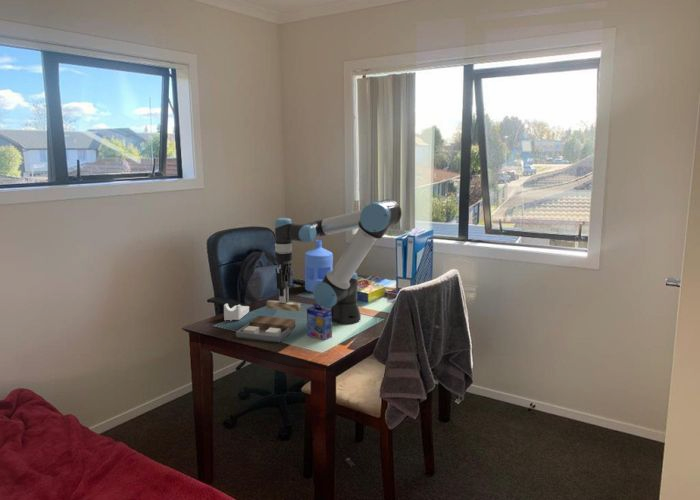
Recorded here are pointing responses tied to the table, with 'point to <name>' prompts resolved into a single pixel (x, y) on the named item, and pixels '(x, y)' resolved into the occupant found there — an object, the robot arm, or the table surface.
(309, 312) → the ink cartridge box
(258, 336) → the box
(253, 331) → the tile
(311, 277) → the water jug
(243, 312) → the bracket
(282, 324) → the walnut board
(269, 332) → the tile
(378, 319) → the table surface
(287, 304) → the inverted t-shaped stand
